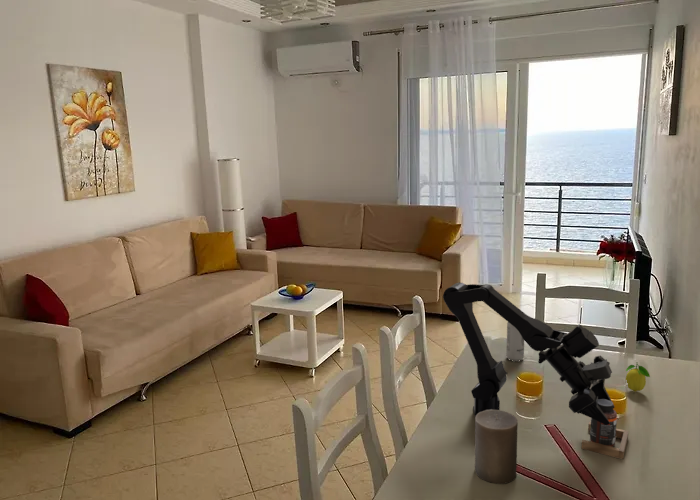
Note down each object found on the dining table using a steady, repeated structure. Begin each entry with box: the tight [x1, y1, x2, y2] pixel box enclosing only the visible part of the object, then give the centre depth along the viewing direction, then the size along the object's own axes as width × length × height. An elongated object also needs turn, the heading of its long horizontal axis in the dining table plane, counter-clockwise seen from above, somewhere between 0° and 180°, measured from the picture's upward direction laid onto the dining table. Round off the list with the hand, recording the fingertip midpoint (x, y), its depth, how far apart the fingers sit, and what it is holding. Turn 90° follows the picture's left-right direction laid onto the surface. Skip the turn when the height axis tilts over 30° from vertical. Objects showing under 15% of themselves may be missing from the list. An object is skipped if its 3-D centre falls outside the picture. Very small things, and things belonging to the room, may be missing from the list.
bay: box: [581, 421, 629, 460], centre depth 139 cm, size 10×11×2 cm
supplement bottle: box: [589, 399, 618, 447], centre depth 138 cm, size 6×6×11 cm
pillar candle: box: [474, 409, 518, 485], centre depth 127 cm, size 10×10×15 cm
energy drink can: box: [505, 321, 525, 362], centre depth 192 cm, size 6×6×15 cm
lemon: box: [625, 363, 651, 393], centre depth 165 cm, size 7×6×10 cm
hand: (610, 416), depth 137 cm, fingers open, 9 cm apart
